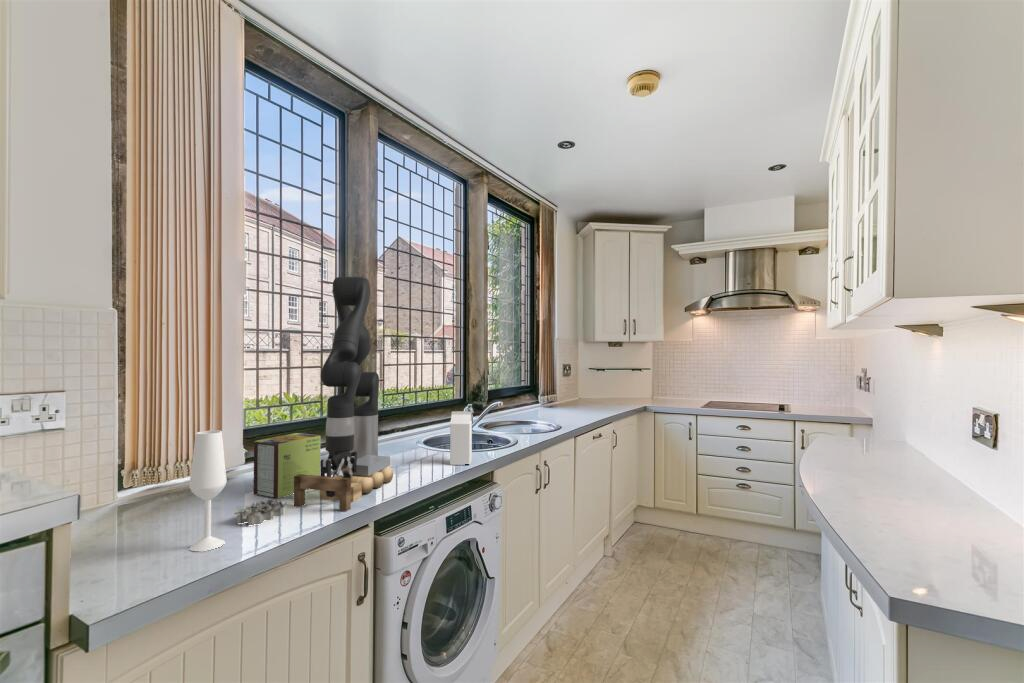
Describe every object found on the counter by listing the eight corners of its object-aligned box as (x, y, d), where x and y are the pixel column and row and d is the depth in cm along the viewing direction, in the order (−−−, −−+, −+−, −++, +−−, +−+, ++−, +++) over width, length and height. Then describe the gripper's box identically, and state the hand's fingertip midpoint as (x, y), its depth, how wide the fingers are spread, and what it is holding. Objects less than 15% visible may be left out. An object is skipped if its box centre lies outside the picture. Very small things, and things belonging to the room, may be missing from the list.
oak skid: (361, 498, 135) (361, 483, 135) (353, 502, 131) (353, 487, 131) (328, 495, 138) (328, 480, 138) (319, 499, 134) (319, 484, 134)
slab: (344, 474, 143) (344, 464, 143) (367, 464, 156) (367, 455, 156) (368, 476, 141) (368, 465, 141) (390, 465, 154) (390, 456, 154)
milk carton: (469, 465, 173) (469, 412, 174) (450, 465, 173) (450, 412, 174) (471, 460, 180) (471, 410, 181) (452, 460, 180) (453, 410, 181)
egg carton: (253, 529, 112) (254, 511, 112) (230, 525, 115) (230, 507, 115) (289, 514, 122) (289, 498, 122) (267, 510, 125) (267, 494, 125)
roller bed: (332, 492, 140) (332, 477, 140) (363, 478, 156) (363, 464, 156) (365, 495, 137) (365, 479, 137) (393, 480, 153) (393, 466, 153)
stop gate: (293, 506, 127) (293, 476, 128) (298, 504, 129) (299, 474, 130) (346, 511, 124) (346, 480, 124) (350, 508, 125) (350, 478, 126)
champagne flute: (180, 552, 98) (182, 434, 99) (201, 539, 105) (203, 429, 106) (213, 552, 98) (215, 435, 99) (232, 539, 105) (233, 429, 106)
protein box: (320, 485, 147) (321, 434, 148) (277, 499, 133) (278, 443, 134) (296, 481, 152) (297, 432, 152) (252, 494, 138) (252, 440, 138)
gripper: (336, 437, 127) (335, 501, 126) (365, 430, 140) (364, 487, 140) (311, 436, 128) (310, 499, 128) (343, 429, 142) (342, 485, 142)
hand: (338, 492), depth 134 cm, fingers open, 7 cm apart
